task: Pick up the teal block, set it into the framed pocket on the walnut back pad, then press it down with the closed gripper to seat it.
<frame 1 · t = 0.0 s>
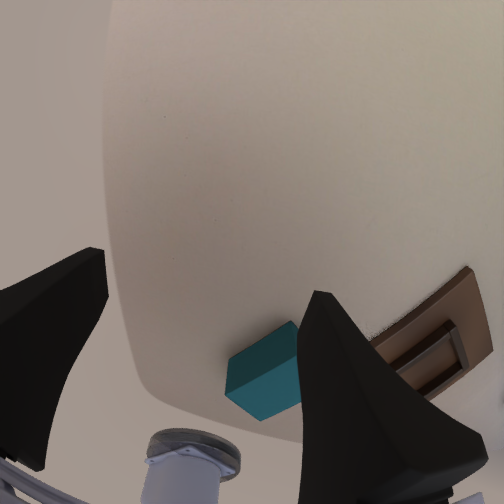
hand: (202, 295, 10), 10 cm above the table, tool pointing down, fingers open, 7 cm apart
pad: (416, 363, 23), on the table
teal block: (274, 356, 23), on the table
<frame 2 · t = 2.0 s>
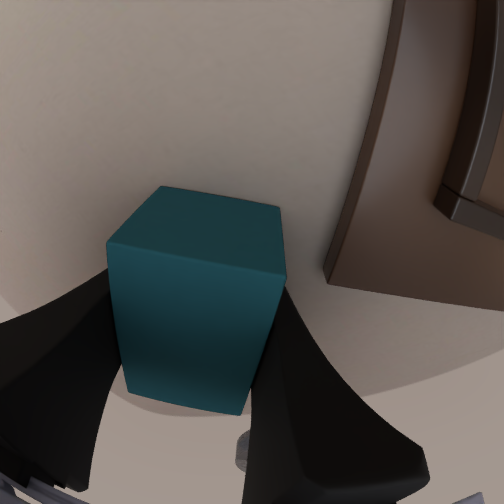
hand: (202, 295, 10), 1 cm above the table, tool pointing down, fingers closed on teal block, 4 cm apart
teal block: (208, 271, 11), on the table, touching gripper
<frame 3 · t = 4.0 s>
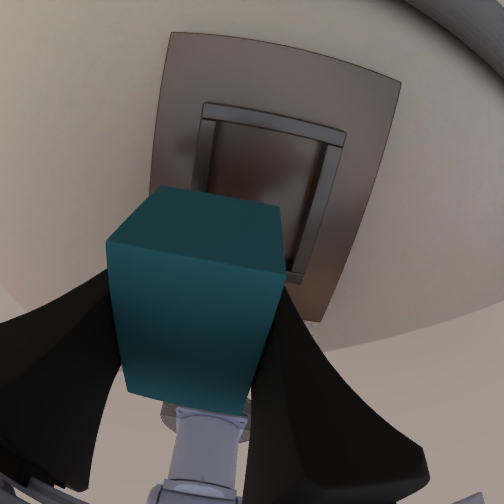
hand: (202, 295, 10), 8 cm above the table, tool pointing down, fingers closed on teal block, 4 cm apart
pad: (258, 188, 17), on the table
teal block: (207, 271, 11), point 7 cm above the table, touching gripper
flashlight: (473, 38, 11), on the table
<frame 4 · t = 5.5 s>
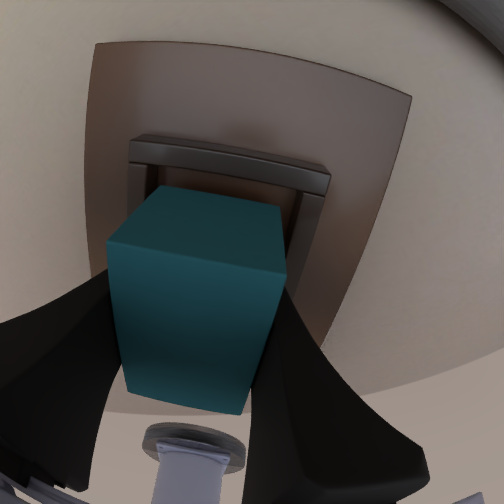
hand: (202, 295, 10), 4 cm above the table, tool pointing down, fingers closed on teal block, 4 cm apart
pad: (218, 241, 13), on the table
teal block: (208, 270, 11), point 2 cm above the table, touching gripper
flashlight: (500, 39, 7), on the table
when the fingers open (2 cm above the table, at t = 6.3 s): teal block stays where it is, resting on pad.
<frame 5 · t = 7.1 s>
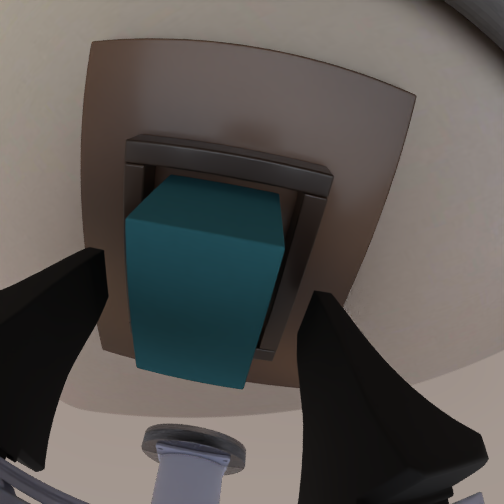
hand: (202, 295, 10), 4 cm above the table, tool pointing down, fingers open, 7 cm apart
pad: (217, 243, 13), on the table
teal block: (213, 254, 12), point 1 cm above the table, touching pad
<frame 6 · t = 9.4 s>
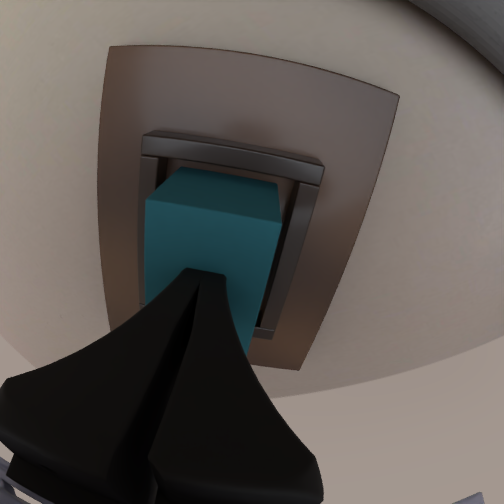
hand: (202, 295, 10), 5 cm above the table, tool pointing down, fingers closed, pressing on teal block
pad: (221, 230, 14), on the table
teal block: (218, 239, 13), point 1 cm above the table, touching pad, gripper
flashlight: (486, 43, 8), on the table
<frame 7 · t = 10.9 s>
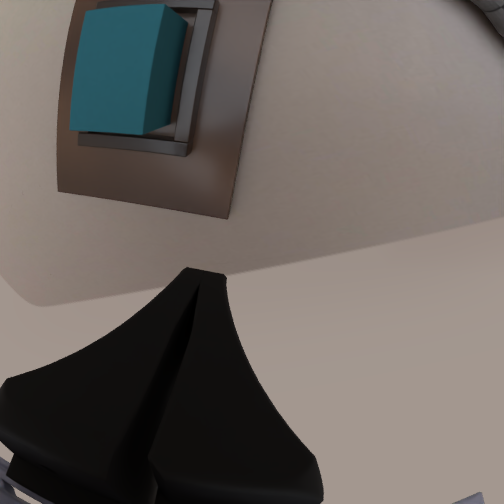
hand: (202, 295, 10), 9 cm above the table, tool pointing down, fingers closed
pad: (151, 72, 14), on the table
teal block: (144, 70, 13), point 1 cm above the table, touching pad
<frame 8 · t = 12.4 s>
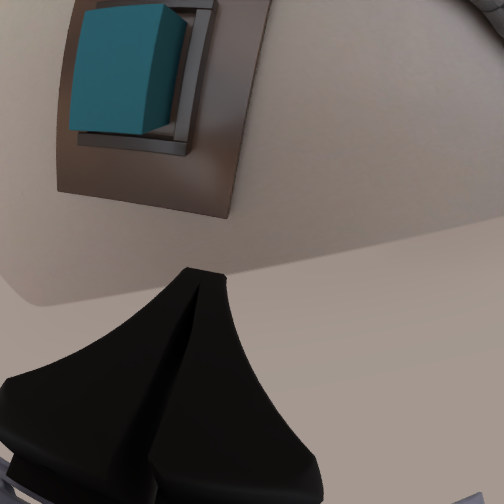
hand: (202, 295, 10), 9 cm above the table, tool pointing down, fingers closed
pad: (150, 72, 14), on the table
teal block: (143, 70, 13), point 1 cm above the table, touching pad
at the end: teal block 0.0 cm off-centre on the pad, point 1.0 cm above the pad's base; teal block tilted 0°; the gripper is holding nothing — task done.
